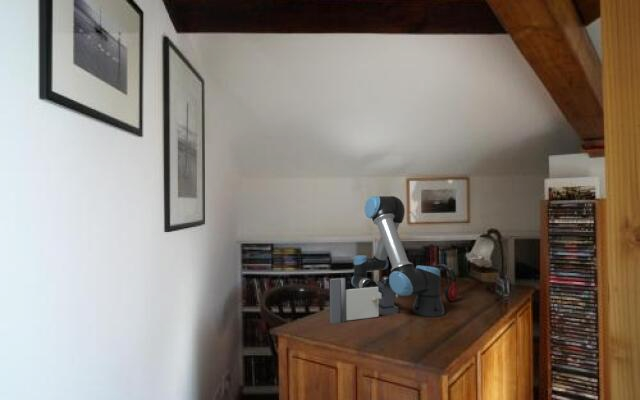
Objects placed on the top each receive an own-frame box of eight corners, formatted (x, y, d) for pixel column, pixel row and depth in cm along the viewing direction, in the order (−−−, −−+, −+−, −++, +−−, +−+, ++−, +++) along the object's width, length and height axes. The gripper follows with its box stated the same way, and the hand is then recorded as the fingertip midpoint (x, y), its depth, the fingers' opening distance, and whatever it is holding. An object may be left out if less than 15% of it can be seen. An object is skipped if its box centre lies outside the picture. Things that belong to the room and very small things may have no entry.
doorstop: (389, 308, 192) (388, 274, 193) (398, 313, 184) (398, 277, 184) (373, 310, 189) (373, 275, 190) (382, 315, 181) (382, 278, 181)
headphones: (460, 301, 207) (460, 265, 207) (450, 304, 200) (450, 267, 201) (434, 295, 220) (433, 261, 221) (423, 297, 214) (423, 263, 215)
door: (348, 321, 169) (347, 291, 170) (345, 319, 172) (345, 289, 172) (380, 317, 175) (380, 288, 175) (377, 315, 178) (377, 286, 178)
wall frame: (331, 323, 168) (331, 279, 168) (329, 322, 170) (329, 278, 170) (346, 322, 170) (346, 278, 170) (344, 320, 172) (343, 277, 173)
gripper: (385, 291, 209) (407, 300, 187) (350, 294, 201) (370, 304, 180) (385, 277, 209) (407, 285, 187) (350, 280, 201) (369, 289, 180)
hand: (389, 295), depth 184 cm, fingers open, 9 cm apart
